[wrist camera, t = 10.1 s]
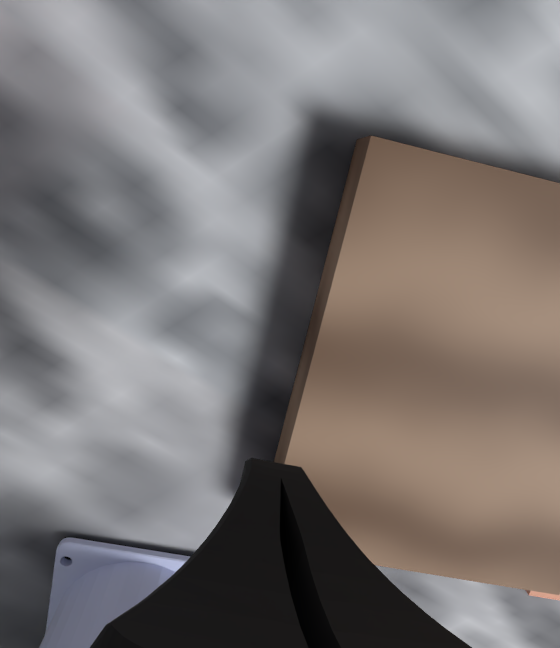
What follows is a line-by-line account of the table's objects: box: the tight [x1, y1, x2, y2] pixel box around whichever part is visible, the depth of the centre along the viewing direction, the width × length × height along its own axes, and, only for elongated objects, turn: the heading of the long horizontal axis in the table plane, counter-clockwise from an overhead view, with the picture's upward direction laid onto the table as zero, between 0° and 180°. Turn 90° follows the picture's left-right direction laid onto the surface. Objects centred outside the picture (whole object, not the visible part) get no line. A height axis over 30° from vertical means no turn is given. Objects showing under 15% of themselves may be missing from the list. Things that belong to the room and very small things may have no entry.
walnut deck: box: [274, 136, 560, 595], centre depth 21 cm, size 16×13×2 cm
